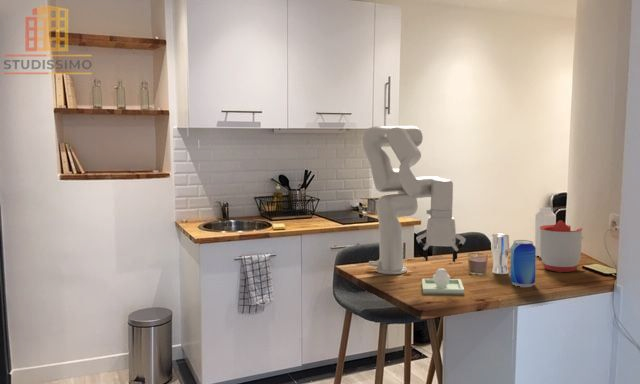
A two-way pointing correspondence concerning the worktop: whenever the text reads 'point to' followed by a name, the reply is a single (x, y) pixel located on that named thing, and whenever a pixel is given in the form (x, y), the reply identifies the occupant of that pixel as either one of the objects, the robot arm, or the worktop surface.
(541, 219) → the milk
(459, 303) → the worktop surface
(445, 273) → the white round lump
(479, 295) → the worktop surface
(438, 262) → the worktop surface
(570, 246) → the citrus juicer
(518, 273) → the beer can
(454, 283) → the tray
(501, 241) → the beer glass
